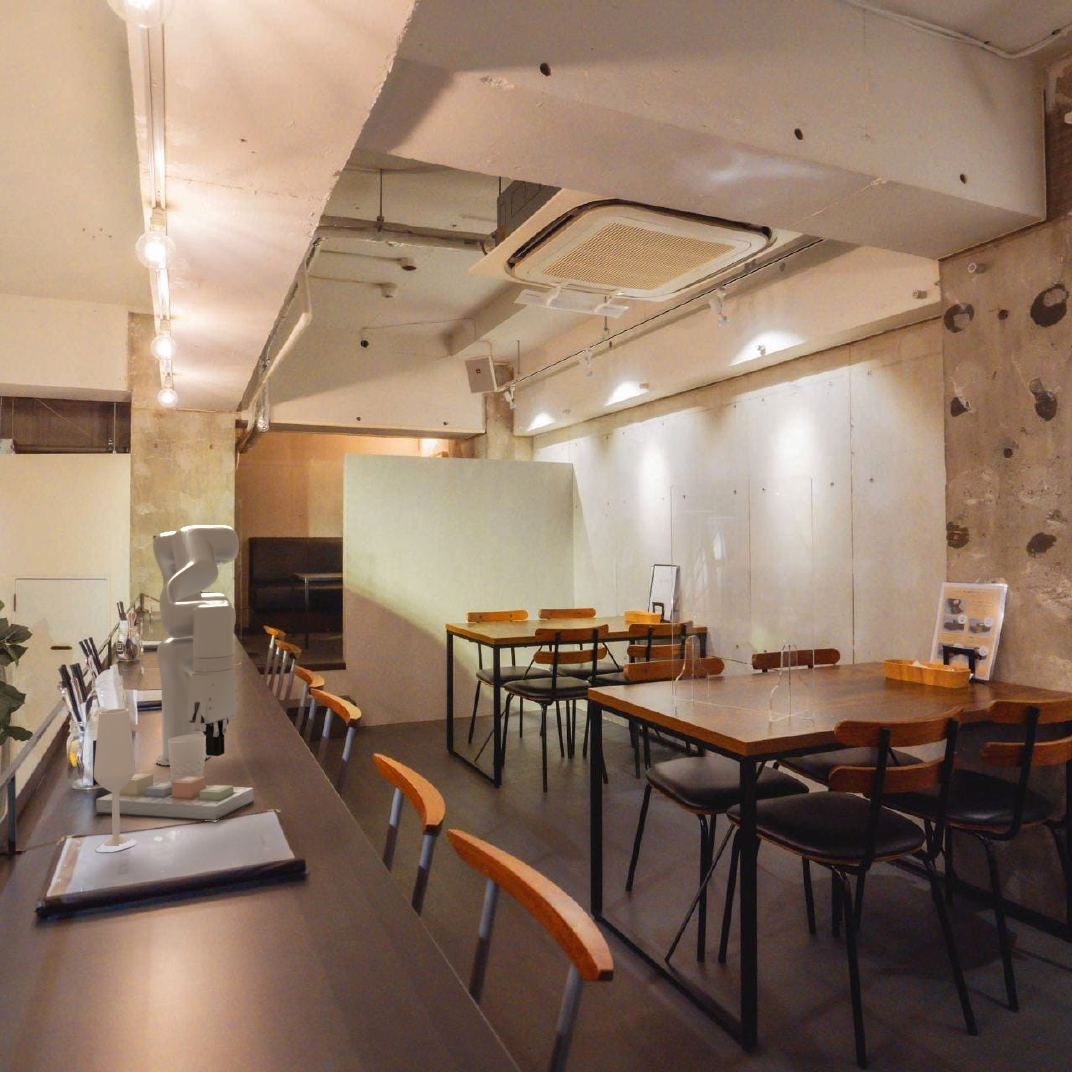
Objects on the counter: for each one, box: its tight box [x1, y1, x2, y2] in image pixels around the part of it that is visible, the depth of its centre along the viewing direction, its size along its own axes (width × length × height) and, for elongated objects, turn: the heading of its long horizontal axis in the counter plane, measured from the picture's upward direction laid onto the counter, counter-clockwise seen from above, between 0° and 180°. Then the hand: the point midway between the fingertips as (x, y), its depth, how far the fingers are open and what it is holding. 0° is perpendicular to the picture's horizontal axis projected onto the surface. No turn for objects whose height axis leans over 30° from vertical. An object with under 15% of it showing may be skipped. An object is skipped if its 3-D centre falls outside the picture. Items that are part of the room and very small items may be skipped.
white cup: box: [168, 734, 206, 783], centre depth 178 cm, size 8×8×10 cm
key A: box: [172, 776, 207, 799], centre depth 158 cm, size 4×4×4 cm
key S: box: [119, 772, 154, 796], centre depth 161 cm, size 4×4×4 cm
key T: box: [145, 781, 172, 798], centre depth 160 cm, size 4×4×4 cm
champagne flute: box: [93, 708, 137, 846], centre depth 139 cm, size 7×7×24 cm
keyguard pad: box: [95, 782, 254, 822], centre depth 159 cm, size 12×28×3 cm, turn 75°
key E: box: [200, 784, 234, 801], centre depth 156 cm, size 4×4×4 cm
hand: (215, 754), depth 157 cm, fingers closed
